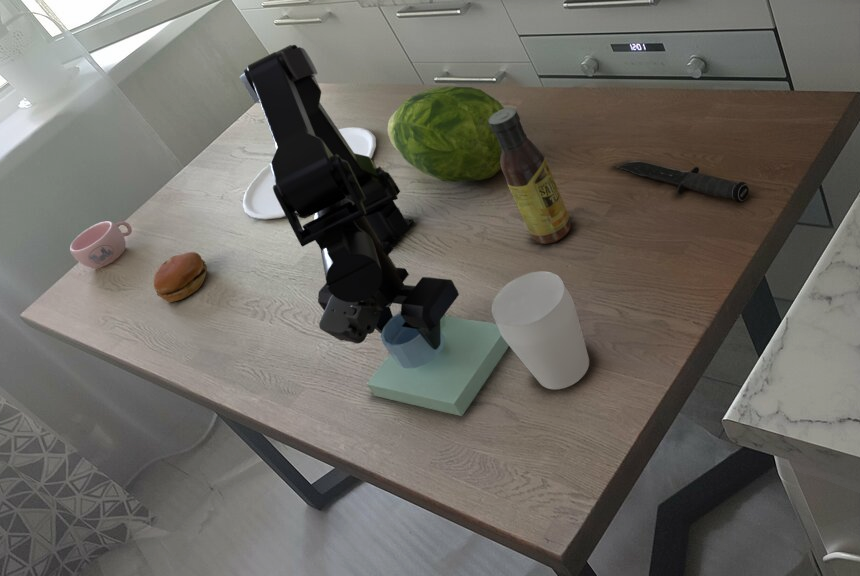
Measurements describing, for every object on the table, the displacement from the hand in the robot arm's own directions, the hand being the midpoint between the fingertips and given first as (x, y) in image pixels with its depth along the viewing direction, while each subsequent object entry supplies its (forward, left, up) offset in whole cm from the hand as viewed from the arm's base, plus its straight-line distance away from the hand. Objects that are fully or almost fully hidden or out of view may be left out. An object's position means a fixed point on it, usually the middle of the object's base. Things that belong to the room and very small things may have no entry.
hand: (416, 343), depth 106 cm
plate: (-62, +40, -6) cm, 74 cm away
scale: (+1, +1, -5) cm, 6 cm away
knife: (+18, +40, -6) cm, 44 cm away
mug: (-98, +13, -6) cm, 99 cm away
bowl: (0, 0, -2) cm, 2 cm away
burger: (-66, +8, -6) cm, 67 cm away
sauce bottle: (+3, +28, -6) cm, 29 cm away
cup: (+18, +4, -6) cm, 19 cm away
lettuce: (-24, +42, -6) cm, 49 cm away
